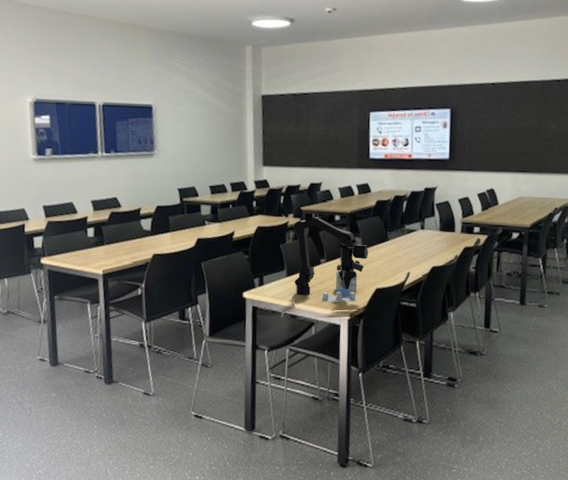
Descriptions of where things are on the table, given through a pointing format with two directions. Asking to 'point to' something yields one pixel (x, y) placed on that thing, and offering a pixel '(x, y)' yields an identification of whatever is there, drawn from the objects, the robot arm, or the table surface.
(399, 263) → the table surface
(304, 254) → the robot arm
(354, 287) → the light bulb box
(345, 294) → the white base plate
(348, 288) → the dark gray cylinder
